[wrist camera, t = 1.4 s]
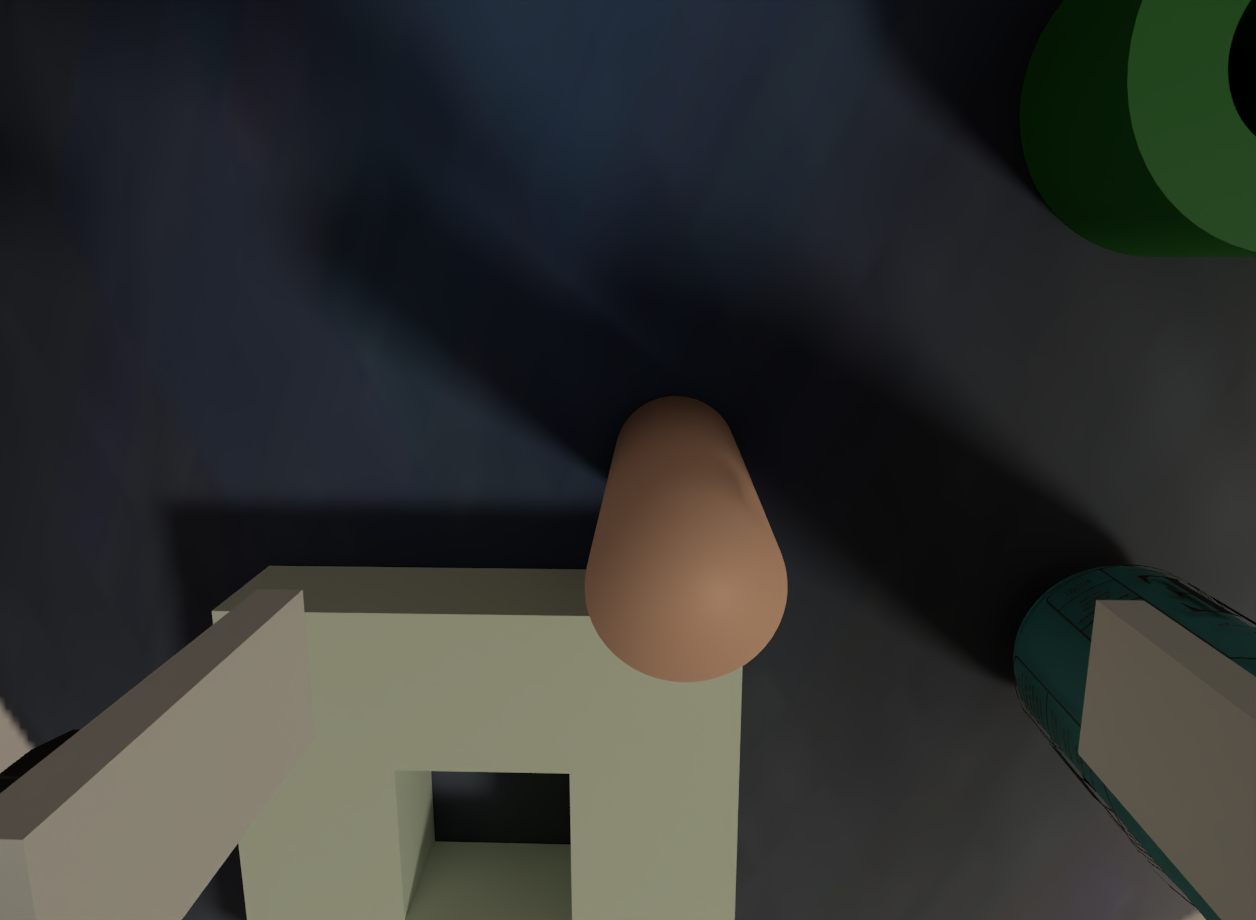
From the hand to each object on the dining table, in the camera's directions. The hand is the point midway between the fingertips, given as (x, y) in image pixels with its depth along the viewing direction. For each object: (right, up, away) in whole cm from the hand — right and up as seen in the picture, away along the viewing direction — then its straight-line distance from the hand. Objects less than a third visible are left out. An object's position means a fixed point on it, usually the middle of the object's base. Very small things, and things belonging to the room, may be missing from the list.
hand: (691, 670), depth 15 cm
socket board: (-6, -8, +17) cm, 20 cm away
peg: (0, +4, +14) cm, 15 cm away
